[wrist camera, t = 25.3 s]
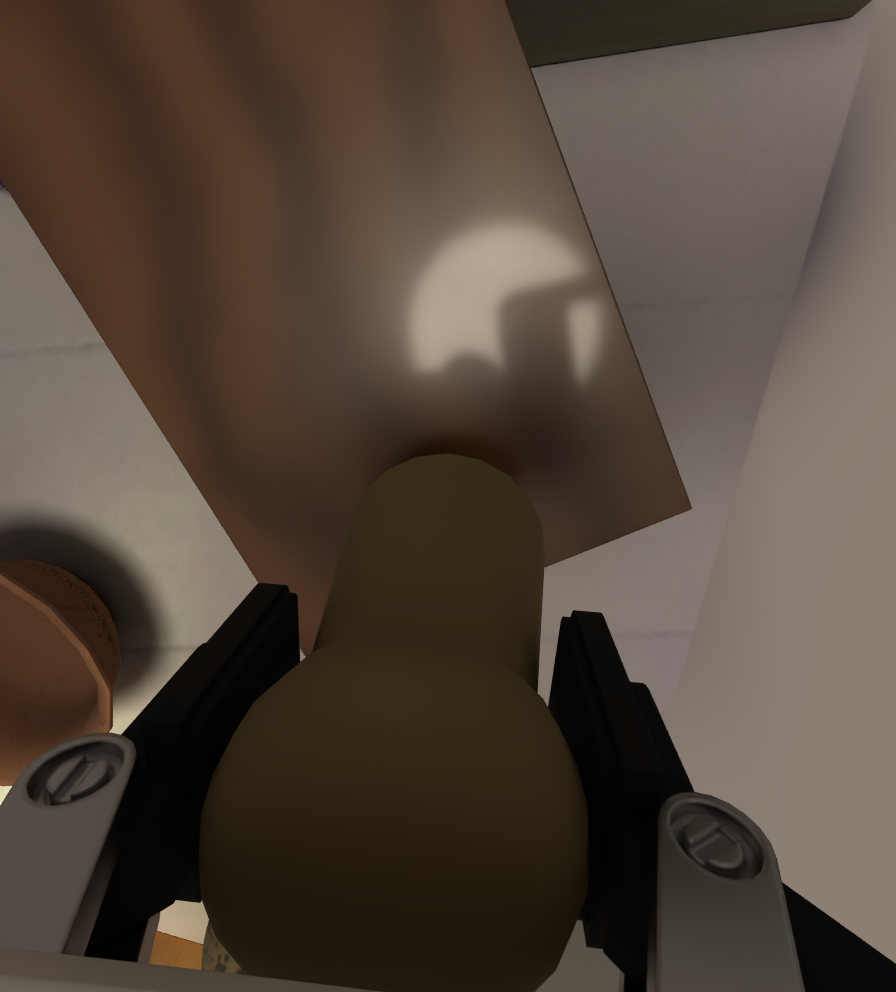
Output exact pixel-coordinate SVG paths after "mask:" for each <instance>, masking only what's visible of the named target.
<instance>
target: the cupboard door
mask: <svg viewBox="0 0 896 992" xmlns="http://www.w3.org/2000/svg"><path fill="white" fill-rule="evenodd" d="M870 1H872V0H506V2H507V5H508V8H509V11H510V13H511V16H512V19H513V22H514V24H515V27H516V30H517V32H518V35H519V38H520V41H521V43H522V46H523V49H524V52H525V54H526V57H527V60H528V62H529V65H530V67H531V66H537V65H544V64H550V63H557V62H563V61H569V60H576V59H582V58H589V57H595V56H602V55H608V54H615V53H621V52H628V51H634V50H640V49H647V48H653V47H660V46H666V45H673V44H679V43H686V42H692V41H698V40H705V39H711V38H718V37H724V36H731V35H737V34H744V33H750V32H756V31H763V30H769V29H776V28H782V27H789V26H795V25H802V24H808V23H814V22H821V21H827V20H834V19H840V18H847V17H852V16H853V15H855V14H856V13H857V12H858V11H860V10H861V9H862V8H863V7H864V6H866V5H867V4H868V3H869V2H870Z"/></svg>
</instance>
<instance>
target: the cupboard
mask: <svg viewBox="0 0 896 992" xmlns="http://www.w3.org/2000/svg"><path fill="white" fill-rule="evenodd" d="M0 179H1V181H2V182H3V184H4V185H5V187H6V188H7V190H8V192H9V193H10V195H11V196H12V198H13V199H14V201H15V202H16V204H17V206H18V207H19V209H20V210H21V212H22V213H23V215H24V217H25V218H26V220H27V221H28V223H29V224H30V226H31V228H32V229H33V231H34V232H35V234H36V235H37V237H38V238H39V240H40V242H41V243H42V245H43V246H44V248H45V249H46V251H47V253H48V254H49V256H50V257H51V259H52V260H53V262H54V264H55V265H56V267H57V268H58V270H59V271H60V273H61V275H62V276H63V278H64V279H65V281H66V282H67V284H68V285H69V287H70V289H71V290H72V292H73V293H74V295H75V296H76V298H77V300H78V301H79V303H80V304H81V306H82V307H83V309H84V311H85V312H86V314H87V315H88V317H89V318H90V320H91V321H92V323H93V325H94V326H95V328H96V329H97V331H98V332H99V334H100V336H101V337H102V339H103V340H104V342H105V343H106V345H107V347H108V348H109V350H110V351H111V353H112V354H113V356H114V358H115V359H116V361H117V362H118V364H119V365H120V367H121V368H122V370H123V372H124V373H125V375H126V376H127V378H128V379H129V381H130V383H131V384H132V386H133V387H134V389H135V390H136V392H137V394H138V395H139V397H140V398H141V400H142V401H143V403H144V404H145V406H146V408H147V409H148V411H149V412H150V414H151V415H152V417H153V419H154V420H155V422H156V423H157V425H158V426H159V428H160V430H161V431H162V433H163V434H164V436H165V437H166V439H167V441H168V442H169V444H170V445H171V447H172V448H173V450H174V451H175V453H176V455H177V456H178V458H179V459H180V461H181V462H182V464H183V466H184V467H185V469H186V470H187V472H188V473H189V475H190V477H191V478H192V480H193V481H194V483H195V484H196V486H197V487H198V489H199V491H200V492H201V494H202V495H203V497H204V498H205V500H206V502H207V503H208V505H209V506H210V508H211V509H212V511H213V513H214V514H215V516H216V517H217V519H218V520H219V522H220V524H221V525H222V527H223V528H224V530H225V531H226V533H227V534H228V536H229V538H230V539H231V541H232V542H233V544H234V545H235V547H236V549H237V550H238V552H239V553H240V555H241V556H242V558H243V560H244V561H245V563H246V564H247V566H248V567H249V569H250V570H251V572H252V574H253V575H254V577H255V578H256V580H257V581H258V583H269V584H281V585H287V586H288V587H289V590H290V592H292V593H296V594H297V596H298V616H299V647H300V649H301V650H302V652H303V653H304V655H305V657H307V656H308V655H309V654H310V653H312V650H313V646H314V643H315V640H316V636H317V633H318V629H319V626H320V623H321V619H322V616H323V612H324V609H325V606H326V602H327V599H328V595H329V592H330V589H331V585H332V582H333V578H334V575H335V572H336V568H337V565H338V561H339V558H340V555H341V551H342V548H343V544H344V541H345V538H346V534H347V531H348V527H349V524H350V521H351V517H352V515H353V513H354V511H355V509H356V507H357V505H358V503H359V501H360V500H361V498H362V496H363V494H364V492H365V490H366V489H367V488H368V487H369V486H371V485H372V484H373V483H374V482H375V481H376V480H377V479H378V478H379V477H380V476H381V475H382V474H383V473H385V472H386V471H387V470H388V469H390V468H392V467H395V466H397V465H399V464H401V463H404V462H406V461H408V460H410V459H413V458H415V457H419V456H429V455H438V454H447V453H449V454H454V455H459V456H464V457H469V458H474V459H479V460H482V461H484V462H485V463H487V464H489V465H491V466H493V467H494V468H496V469H498V470H500V471H502V472H503V473H505V474H507V475H509V476H510V477H511V478H512V479H513V480H514V482H515V483H516V484H517V485H518V486H519V487H520V488H521V489H522V490H523V491H524V492H525V493H526V494H527V496H528V497H529V498H530V499H531V501H532V503H533V506H534V508H535V510H536V513H537V515H538V517H539V519H540V522H541V524H542V526H543V539H544V552H545V560H544V567H547V566H549V565H552V564H555V563H557V562H560V561H562V560H565V559H567V558H570V557H572V556H575V555H577V554H580V553H582V552H585V551H587V550H590V549H592V548H595V547H597V546H600V545H602V544H605V543H608V542H610V541H613V540H615V539H618V538H620V537H623V536H625V535H628V534H630V533H633V532H635V531H638V530H640V529H643V528H645V527H648V526H650V525H653V524H655V523H658V522H661V521H663V520H666V519H668V518H671V517H673V516H676V515H678V514H681V513H683V512H686V511H688V510H691V509H692V507H691V504H690V501H689V498H688V496H687V493H686V490H685V487H684V485H683V482H682V479H681V477H680V474H679V471H678V468H677V466H676V463H675V460H674V458H673V455H672V452H671V449H670V447H669V444H668V441H667V438H666V436H665V433H664V430H663V428H662V425H661V422H660V419H659V417H658V414H657V411H656V408H655V406H654V403H653V400H652V398H651V395H650V392H649V389H648V387H647V384H646V381H645V378H644V376H643V373H642V370H641V368H640V365H639V362H638V359H637V357H636V354H635V351H634V349H633V346H632V343H631V340H630V338H629V335H628V332H627V329H626V327H625V324H624V321H623V319H622V316H621V313H620V310H619V308H618V305H617V302H616V299H615V297H614V294H613V291H612V289H611V286H610V283H609V280H608V278H607V275H606V272H605V270H604V267H603V264H602V261H601V259H600V256H599V253H598V250H597V248H596V245H595V242H594V240H593V237H592V234H591V231H590V229H589V226H588V223H587V220H586V218H585V215H584V212H583V210H582V207H581V204H580V201H579V199H578V196H577V193H576V190H575V188H574V185H573V182H572V180H571V177H570V174H569V171H568V169H567V166H566V163H565V161H564V158H563V155H562V152H561V150H560V147H559V144H558V141H557V139H556V136H555V133H554V131H553V128H552V125H551V122H550V120H549V117H548V114H547V111H546V109H545V106H544V103H543V101H542V98H541V95H540V92H539V90H538V87H537V84H536V81H535V79H534V76H533V73H532V71H531V68H530V65H529V62H528V60H527V57H526V54H525V52H524V49H523V46H522V43H521V41H520V38H519V35H518V32H517V30H516V27H515V24H514V22H513V19H512V16H511V13H510V11H509V8H508V5H507V2H506V0H0Z"/></svg>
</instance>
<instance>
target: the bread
mask: <svg viewBox="0 0 896 992" xmlns="http://www.w3.org/2000/svg"><path fill="white" fill-rule="evenodd" d="M202 951H203V945H201V944H198V943H194V942H191V941H187V940H184V939H181V938H177V937H174V936H171V935H167V934H164V933H161V932H157V931H156V936H155V940H154V944H153V948H152V952H151V956H150V960H149V964H154V965H163V966H172V967H180V968H189V969H198V970H201V963H202Z"/></svg>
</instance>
